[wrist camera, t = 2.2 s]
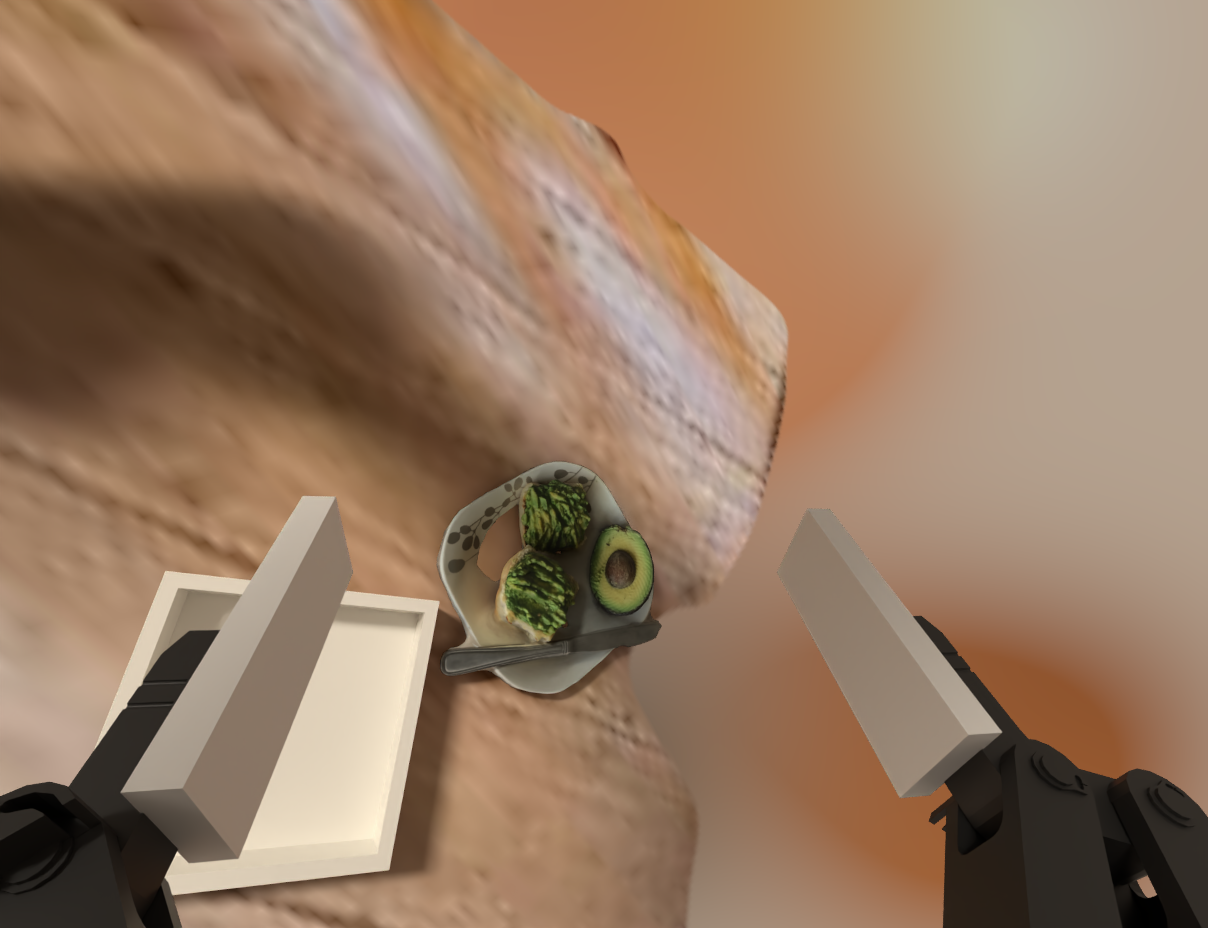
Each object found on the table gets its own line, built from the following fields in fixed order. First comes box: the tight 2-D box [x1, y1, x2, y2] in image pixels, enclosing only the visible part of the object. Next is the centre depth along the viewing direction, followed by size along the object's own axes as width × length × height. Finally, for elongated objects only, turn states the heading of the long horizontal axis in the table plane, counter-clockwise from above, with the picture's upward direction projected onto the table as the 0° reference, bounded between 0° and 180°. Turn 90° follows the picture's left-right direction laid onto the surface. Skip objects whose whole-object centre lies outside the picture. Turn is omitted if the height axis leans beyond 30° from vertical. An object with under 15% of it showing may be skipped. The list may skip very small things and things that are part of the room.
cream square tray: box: [94, 571, 439, 895], centre depth 28 cm, size 15×15×3 cm
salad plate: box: [437, 461, 661, 694], centre depth 38 cm, size 19×18×5 cm
